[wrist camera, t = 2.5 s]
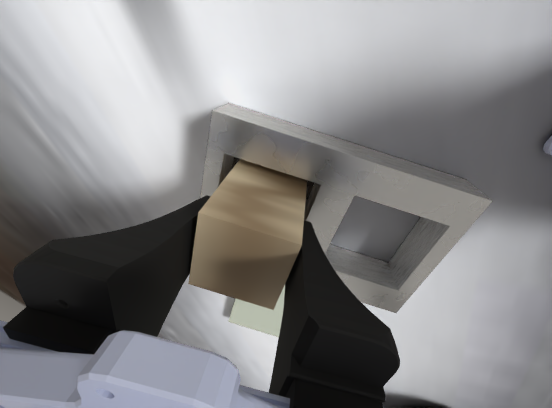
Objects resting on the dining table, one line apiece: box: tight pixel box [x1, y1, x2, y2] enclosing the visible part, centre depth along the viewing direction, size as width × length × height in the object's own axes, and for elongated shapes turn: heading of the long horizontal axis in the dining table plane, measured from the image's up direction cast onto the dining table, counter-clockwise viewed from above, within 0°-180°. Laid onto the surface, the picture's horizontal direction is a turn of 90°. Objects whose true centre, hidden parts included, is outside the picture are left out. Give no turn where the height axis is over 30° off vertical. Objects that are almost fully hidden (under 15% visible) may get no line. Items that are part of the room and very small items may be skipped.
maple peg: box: [189, 159, 307, 310], centre depth 13 cm, size 4×4×7 cm
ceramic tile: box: [229, 285, 285, 337], centre depth 21 cm, size 9×8×1 cm
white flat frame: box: [200, 103, 492, 313], centre depth 15 cm, size 14×9×2 cm, turn 74°
